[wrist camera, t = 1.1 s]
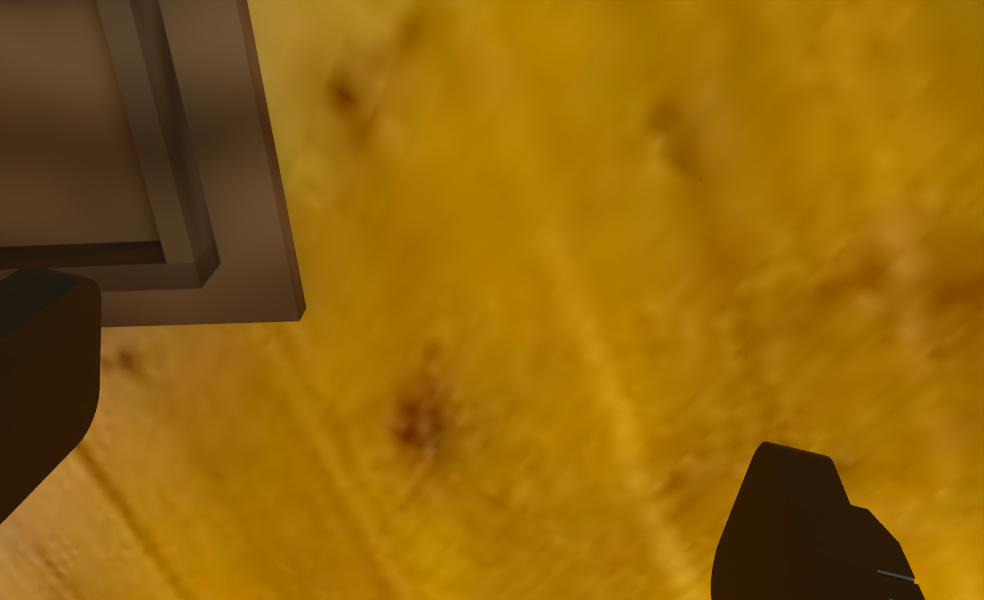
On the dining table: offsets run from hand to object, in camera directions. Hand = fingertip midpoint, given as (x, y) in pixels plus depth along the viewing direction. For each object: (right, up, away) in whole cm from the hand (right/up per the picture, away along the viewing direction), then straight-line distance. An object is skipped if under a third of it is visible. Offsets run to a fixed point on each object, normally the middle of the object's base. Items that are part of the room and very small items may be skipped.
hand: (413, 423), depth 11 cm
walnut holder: (-15, +8, +21) cm, 27 cm away
